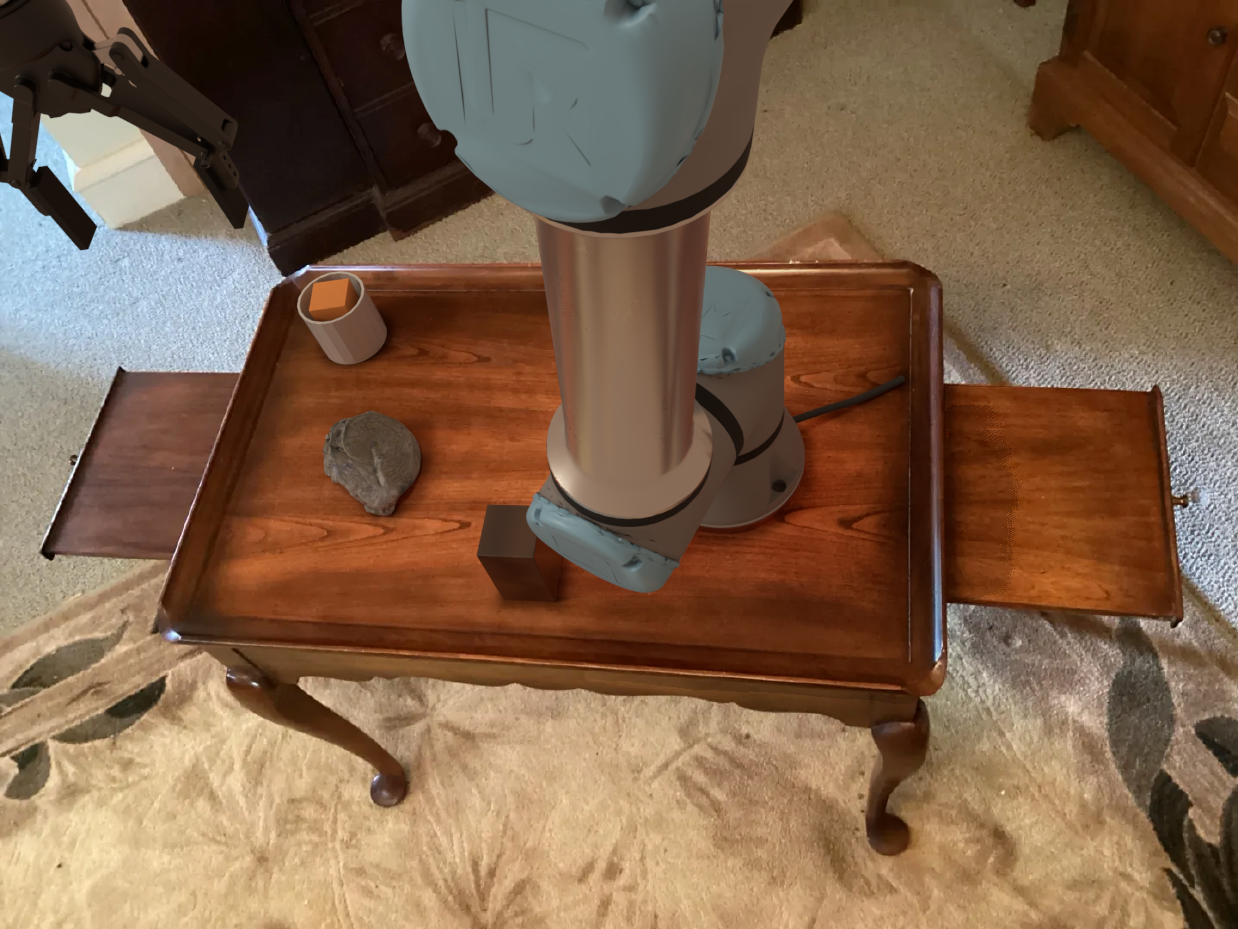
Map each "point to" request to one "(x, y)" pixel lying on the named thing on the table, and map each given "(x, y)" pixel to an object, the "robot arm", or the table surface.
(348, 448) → the fossilized seashell
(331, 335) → the plain cylindrical cup
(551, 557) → the dark brown block
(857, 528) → the table surface
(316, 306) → the orange block
